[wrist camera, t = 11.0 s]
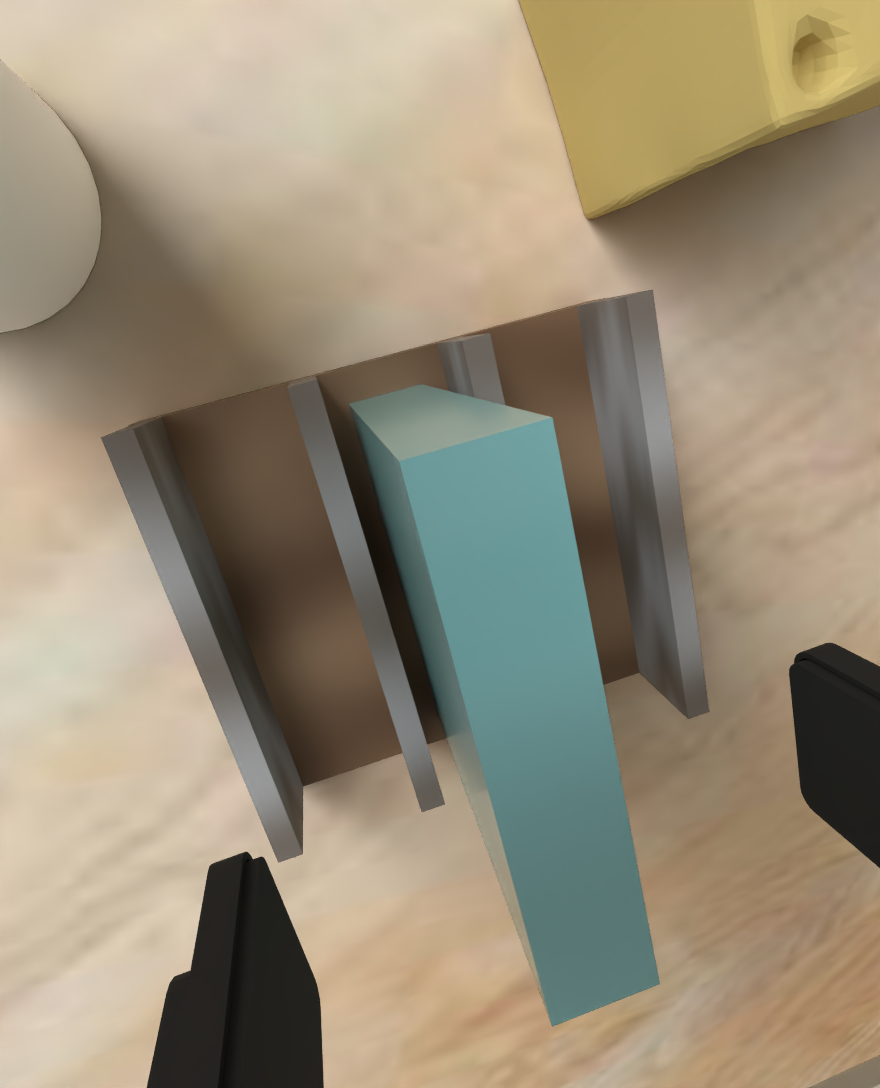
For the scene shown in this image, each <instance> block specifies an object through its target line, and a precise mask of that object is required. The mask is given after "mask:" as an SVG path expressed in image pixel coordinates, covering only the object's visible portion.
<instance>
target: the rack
mask: <svg viewBox="0 0 880 1088" xmlns="http://www.w3.org/2000/svg"><path fill="white" fill-rule="evenodd" d="M418 384H422V385H426V386H430V387H434V388H438V389H442V390H446V391H450V392H454V393H458V394H462V395H466V396H470V397H474V398H478V399H482V400H486V401H489V402H493V403H497V404H501V405H505V406H509V407H513V408H517V409H521V410H525V411H529V412H533V413H537V414H541V415H545V416H549V417H553V423H554V428H555V433H556V438H557V444H558V449H559V454H560V460H561V465H562V470H563V475H564V481H565V486H566V491H567V497H568V502H569V507H570V512H571V518H572V523H573V528H574V533H575V539H576V544H577V549H578V555H579V560H580V565H581V570H582V576H583V581H584V586H585V592H586V597H587V602H588V607H589V613H590V618H591V623H592V628H593V634H594V639H595V644H596V650H597V655H598V660H599V665H600V671H601V676H602V681H603V685H604V684H607V683H610V682H613V681H616V680H618V679H621V678H624V677H627V676H630V675H633V674H636V673H640V674H641V675H642V676H644V677H645V678H646V679H647V680H648V681H649V682H650V683H651V684H652V685H653V686H654V687H655V688H656V689H657V690H658V691H659V692H660V693H661V694H662V695H663V696H665V697H666V698H667V699H668V700H669V701H670V702H671V703H672V704H673V705H674V706H675V707H676V708H677V709H678V710H679V711H680V712H681V713H682V714H683V715H685V716H686V717H687V718H688V719H690V718H692V717H695V716H698V715H701V714H704V713H707V712H709V706H708V699H707V691H706V684H705V676H704V669H703V661H702V654H701V647H700V639H699V632H698V624H697V617H696V609H695V602H694V594H693V587H692V579H691V572H690V564H689V557H688V550H687V542H686V535H685V527H684V520H683V512H682V505H681V497H680V490H679V482H678V475H677V467H676V460H675V453H674V445H673V438H672V430H671V423H670V415H669V408H668V400H667V393H666V385H665V378H664V370H663V363H662V356H661V348H660V341H659V333H658V326H657V318H656V311H655V303H654V296H653V290H649V291H644V292H638V293H633V294H628V295H622V296H617V297H612V298H606V299H605V298H604V299H599V300H593V301H589V302H585V303H581V304H577V305H574V306H570V307H566V308H562V309H559V310H555V311H551V312H547V313H544V314H540V315H536V316H532V317H529V318H525V319H521V320H517V321H514V322H510V323H506V324H502V325H499V326H495V327H491V328H487V329H484V330H480V331H476V332H473V333H469V334H465V335H461V336H458V337H454V338H450V339H446V340H443V341H439V342H435V343H431V344H428V345H424V346H420V347H416V348H413V349H409V350H405V351H401V352H398V353H394V354H390V355H386V356H383V357H379V358H375V359H371V360H368V361H364V362H360V363H356V364H353V365H349V366H345V367H341V368H338V369H334V370H330V371H326V372H323V373H319V374H315V375H311V376H308V377H304V378H300V379H296V380H293V381H289V382H285V383H281V384H278V385H274V386H270V387H267V388H263V389H259V390H255V391H252V392H248V393H244V394H240V395H237V396H233V397H229V398H225V399H222V400H218V401H214V402H210V403H207V404H203V405H199V406H195V407H192V408H188V409H184V410H180V411H177V412H173V413H169V414H165V415H162V416H158V417H154V418H150V419H147V420H143V421H139V422H136V423H134V424H131V425H129V427H126V428H124V429H121V430H119V431H116V432H114V433H111V434H109V435H106V436H104V437H101V439H102V441H103V443H104V446H105V448H106V451H107V453H108V455H109V458H110V460H111V463H112V465H113V467H114V470H115V472H116V475H117V477H118V479H119V482H120V484H121V487H122V489H123V491H124V494H125V496H126V499H127V501H128V503H129V506H130V508H131V511H132V513H133V515H134V518H135V520H136V523H137V525H138V527H139V530H140V532H141V535H142V537H143V539H144V542H145V544H146V547H147V549H148V551H149V554H150V556H151V559H152V561H153V563H154V566H155V568H156V571H157V573H158V575H159V578H160V580H161V583H162V585H163V587H164V590H165V592H166V595H167V597H168V599H169V602H170V604H171V606H172V609H173V611H174V614H175V616H176V618H177V621H178V623H179V626H180V628H181V630H182V633H183V635H184V638H185V640H186V642H187V645H188V647H189V650H190V652H191V654H192V657H193V659H194V662H195V664H196V666H197V669H198V671H199V674H200V676H201V678H202V681H203V683H204V686H205V688H206V690H207V693H208V695H209V698H210V700H211V702H212V705H213V707H214V710H215V712H216V714H217V717H218V719H219V722H220V724H221V726H222V729H223V731H224V734H225V736H226V738H227V741H228V743H229V746H230V748H231V750H232V753H233V755H234V758H235V760H236V762H237V765H238V767H239V769H240V772H241V774H242V777H243V779H244V781H245V784H246V786H247V789H248V791H249V793H250V796H251V798H252V801H253V803H254V805H255V808H256V810H257V813H258V815H259V817H260V820H261V822H262V825H263V827H264V829H265V832H266V834H267V837H268V839H269V841H270V844H271V846H272V849H273V851H274V853H275V856H276V858H277V861H278V863H279V862H282V861H285V860H287V859H290V858H293V857H296V856H299V855H302V854H303V786H306V785H309V784H311V783H314V782H317V781H320V780H323V779H326V778H329V777H332V776H335V775H338V774H341V773H344V772H347V771H350V770H353V769H356V768H359V767H362V766H365V765H368V764H371V763H373V762H376V761H379V760H382V759H385V758H388V757H391V756H394V755H397V754H400V753H403V755H404V758H405V761H406V764H407V767H408V770H409V774H410V777H411V780H412V783H413V786H414V789H415V792H416V796H417V799H418V802H419V805H420V808H421V811H422V812H424V811H427V810H430V809H433V808H436V807H439V806H441V805H444V804H445V802H444V799H443V796H442V793H441V789H440V786H439V783H438V779H437V776H436V773H435V769H434V766H433V763H432V759H431V756H430V753H429V749H428V746H427V744H430V743H433V742H435V741H438V740H441V739H444V738H446V737H445V734H444V731H443V728H442V726H441V723H440V720H439V717H438V714H437V710H436V707H435V703H434V700H433V696H432V693H431V689H430V686H429V683H428V679H427V676H426V672H425V669H424V665H423V662H422V658H421V655H420V651H419V648H418V644H417V641H416V637H415V634H414V630H413V627H412V623H411V620H410V616H409V613H408V610H407V606H406V603H405V599H404V596H403V592H402V589H401V585H400V582H399V578H398V575H397V571H396V568H395V564H394V561H393V557H392V554H391V550H390V547H389V543H388V540H387V536H386V533H385V530H384V526H383V523H382V519H381V516H380V512H379V509H378V505H377V502H376V498H375V495H374V491H373V488H372V484H371V481H370V477H369V474H368V470H367V467H366V463H365V460H364V457H363V453H362V450H361V446H360V443H359V439H358V436H357V432H356V429H355V425H354V422H353V418H352V415H351V411H350V408H349V404H348V403H352V402H356V401H359V400H363V399H367V398H370V397H374V396H378V395H381V394H385V393H389V392H392V391H396V390H400V389H404V388H407V387H411V386H415V385H418Z"/></svg>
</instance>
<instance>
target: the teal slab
mask: <svg viewBox="0 0 880 1088" xmlns="http://www.w3.org/2000/svg"><path fill="white" fill-rule="evenodd" d="M348 404H349V408H350V411H351V415H352V418H353V422H354V425H355V429H356V432H357V436H358V439H359V443H360V446H361V450H362V453H363V457H364V460H365V463H366V467H367V470H368V474H369V477H370V481H371V484H372V488H373V491H374V495H375V498H376V502H377V505H378V509H379V512H380V516H381V519H382V523H383V526H384V530H385V533H386V536H387V540H388V543H389V547H390V550H391V554H392V557H393V561H394V564H395V568H396V571H397V575H398V578H399V582H400V585H401V589H402V592H403V596H404V599H405V603H406V606H407V610H408V613H409V616H410V620H411V623H412V627H413V630H414V634H415V637H416V641H417V644H418V648H419V651H420V655H421V658H422V662H423V665H424V669H425V672H426V676H427V679H428V683H429V686H430V689H431V693H432V696H433V700H434V703H435V707H436V710H437V714H438V717H439V720H440V723H441V726H442V728H443V731H444V734H445V737H446V739H447V742H448V745H449V747H450V750H451V753H452V756H453V758H454V761H455V764H456V767H457V769H458V772H459V775H460V777H461V780H462V783H463V786H464V788H465V791H466V794H467V796H468V799H469V802H470V805H471V807H472V810H473V813H474V816H475V818H476V821H477V824H478V826H479V829H480V832H481V835H482V837H483V840H484V843H485V846H486V848H487V851H488V854H489V856H490V859H491V862H492V865H493V867H494V870H495V873H496V875H497V878H498V881H499V884H500V886H501V889H502V892H503V895H504V897H505V900H506V903H507V905H508V908H509V911H510V914H511V916H512V919H513V922H514V925H515V927H516V930H517V933H518V935H519V938H520V941H521V944H522V946H523V949H524V952H525V954H526V957H527V960H528V963H529V965H530V968H531V971H532V974H533V976H534V979H535V982H536V984H537V987H538V990H539V993H540V995H541V998H542V1001H543V1004H544V1006H545V1009H546V1012H547V1014H548V1017H549V1020H550V1023H551V1025H552V1027H553V1026H555V1025H558V1024H560V1023H563V1022H565V1021H568V1020H570V1019H573V1018H575V1017H578V1016H580V1015H583V1014H585V1013H588V1012H590V1011H593V1010H595V1009H598V1008H600V1007H603V1006H605V1005H608V1004H611V1003H613V1002H616V1001H618V1000H621V999H623V998H626V997H628V996H631V995H633V994H636V993H638V992H641V991H643V990H646V989H648V988H651V987H653V986H656V985H658V984H660V982H659V977H658V972H657V966H656V961H655V956H654V950H653V945H652V940H651V935H650V929H649V924H648V919H647V913H646V908H645V903H644V898H643V892H642V887H641V882H640V877H639V871H638V866H637V861H636V855H635V850H634V845H633V840H632V834H631V829H630V824H629V818H628V813H627V808H626V803H625V797H624V792H623V787H622V782H621V776H620V771H619V766H618V760H617V755H616V750H615V745H614V739H613V734H612V729H611V723H610V718H609V713H608V708H607V702H606V697H605V692H604V687H603V681H602V676H601V671H600V665H599V660H598V655H597V650H596V644H595V639H594V634H593V628H592V623H591V618H590V613H589V607H588V602H587V597H586V592H585V586H584V581H583V576H582V570H581V565H580V560H579V555H578V549H577V544H576V539H575V533H574V528H573V523H572V518H571V512H570V507H569V502H568V497H567V491H566V486H565V481H564V475H563V470H562V465H561V460H560V454H559V449H558V444H557V438H556V433H555V428H554V423H553V417H549V416H545V415H541V414H537V413H533V412H529V411H525V410H521V409H517V408H513V407H509V406H505V405H501V404H497V403H493V402H489V401H486V400H482V399H478V398H474V397H470V396H466V395H462V394H458V393H454V392H450V391H446V390H442V389H438V388H434V387H430V386H426V385H422V384H418V385H415V386H411V387H407V388H404V389H400V390H396V391H392V392H389V393H385V394H381V395H378V396H374V397H370V398H367V399H363V400H359V401H356V402H352V403H348Z"/></svg>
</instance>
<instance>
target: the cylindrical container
mask: <svg viewBox="0 0 880 1088" xmlns="http://www.w3.org/2000/svg"><path fill="white" fill-rule="evenodd" d="M101 220H102V219H101V211H100V203H99V195H98V191H97V188H96V185H95V181H94V178H93V175H92V172H91V169H90V166H89V164H88V162H87V160H86V158H85V156H84V154H83V152H82V150H81V149H80V147H79V145H78V143H77V141H76V139H75V138H74V136H73V135H72V134H71V132H70V131H69V130H68V128H67V127H66V126H65V124H64V123H63V122H62V121H61V119H60V118H59V117H58V115H57V114H56V113H55V112H54V111H53V110H52V109H51V108H50V107H49V106H48V105H47V104H46V103H45V102H44V101H43V100H42V99H41V98H40V97H39V96H38V95H37V94H36V93H35V92H34V91H33V90H32V89H31V88H30V87H28V86H27V85H26V84H25V83H24V82H23V81H22V80H21V79H20V78H19V77H18V76H17V75H16V74H15V73H14V72H13V71H12V70H11V69H10V68H9V67H8V66H7V65H6V64H5V63H4V62H3V61H2V60H1V59H0V333H2V332H7V331H12V330H18V329H23V328H27V327H29V326H32V325H34V324H36V323H39V322H41V321H43V320H46V319H48V318H50V317H51V316H52V315H54V314H55V313H57V312H58V311H59V310H61V309H62V308H63V307H65V306H66V305H67V304H69V303H70V301H71V300H72V299H73V298H74V297H75V295H76V294H77V293H78V292H79V291H80V289H81V288H82V287H83V286H84V284H85V282H86V280H87V278H88V276H89V274H90V272H91V270H92V268H93V266H94V264H95V260H96V256H97V253H98V249H99V245H100V236H101Z"/></svg>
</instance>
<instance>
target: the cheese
mask: <svg viewBox="0 0 880 1088" xmlns="http://www.w3.org/2000/svg"><path fill="white" fill-rule="evenodd" d="M519 2H520V5H521V8H522V11H523V14H524V17H525V20H526V23H527V26H528V29H529V31H530V34H531V37H532V40H533V43H534V46H535V49H536V51H537V54H538V57H539V60H540V63H541V66H542V69H543V72H544V75H545V78H546V81H547V84H548V87H549V91H550V94H551V97H552V101H553V104H554V108H555V111H556V114H557V118H558V121H559V125H560V128H561V131H562V135H563V138H564V142H565V146H566V149H567V153H568V157H569V160H570V164H571V167H572V171H573V175H574V178H575V182H576V186H577V189H578V193H579V196H580V200H581V204H582V207H583V211H584V214H585V216H586V217H587V218H590V219H593V218H597V217H599V216H602V215H605V214H607V213H610V212H612V211H615V210H618V209H620V208H623V207H625V206H628V205H630V204H632V203H634V202H636V201H638V200H640V199H642V198H645V197H647V196H649V195H651V194H653V193H655V192H657V191H659V190H661V189H662V188H664V187H666V186H668V185H670V184H672V183H674V182H676V181H678V180H681V179H683V178H685V177H687V176H689V175H691V174H694V173H697V172H699V171H701V170H704V169H706V168H708V167H711V166H713V165H715V164H717V163H719V162H721V161H723V160H726V159H728V158H730V157H732V156H734V155H736V154H738V153H740V152H742V151H744V150H746V149H749V148H751V147H756V146H760V145H763V144H766V143H769V142H772V141H774V140H777V139H780V138H782V137H785V136H787V135H790V134H793V133H796V132H799V131H802V130H805V129H808V128H811V127H814V126H818V125H821V124H824V123H828V122H831V121H834V120H838V119H841V118H844V117H847V116H850V115H854V114H857V113H860V112H863V111H866V110H868V109H871V108H873V107H876V106H878V105H880V0H519Z"/></svg>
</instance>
